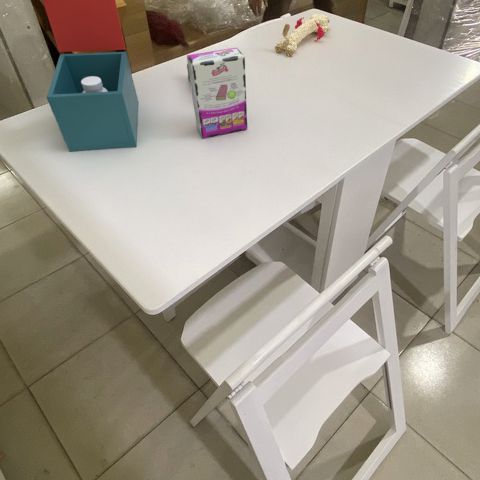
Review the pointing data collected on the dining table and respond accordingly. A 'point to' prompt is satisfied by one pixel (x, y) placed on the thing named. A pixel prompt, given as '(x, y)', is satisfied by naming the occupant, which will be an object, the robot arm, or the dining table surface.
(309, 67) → the dining table surface
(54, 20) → the lid
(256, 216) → the dining table surface
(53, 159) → the dining table surface
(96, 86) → the supplement bottle
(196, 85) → the candy bar box
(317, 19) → the fuzzy plush toy
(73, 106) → the teal open box
